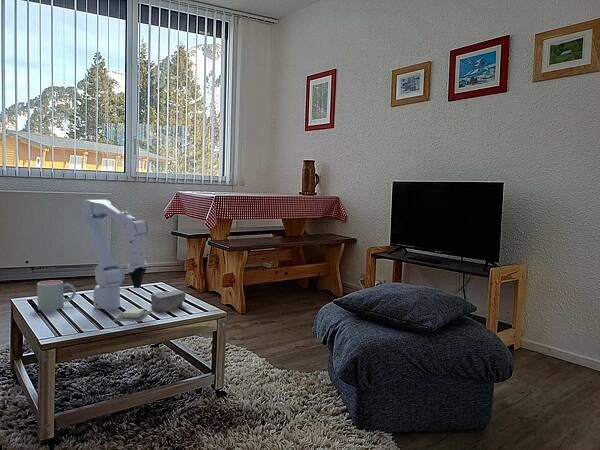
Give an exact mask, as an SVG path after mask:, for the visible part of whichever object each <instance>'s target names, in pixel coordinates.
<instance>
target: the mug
mask: <svg viewBox="0 0 600 450" xmlns="http://www.w3.org/2000/svg"><path fill="white" fill-rule="evenodd" d="M66 287H69V288H70V289H71V290H72V295H71V296H69V297H68V298H64V288H66ZM36 289H37V290H36V292H37V294H36V295H37V296H36V297H37V310H39V311H46V312H47V311H48V312H49V311H55V310H59V309H60V310H61V309H62V308H64V307H65V303H68V302H71V301H72V300H73V299H75V296H76V294H77V293H76V292H77V291H76V288H75V286H74V285H72V284H70V283H64V281H63V280H53V279H52V280H50V279H49V280H43V281H42V280H41V281H40V282H39V281H38V282H37V283H36ZM64 302H65V303H64Z"/></svg>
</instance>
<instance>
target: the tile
mask: <svg viewBox="0 0 600 450" xmlns="http://www.w3.org/2000/svg"><path fill="white" fill-rule="evenodd" d="M144 311H145V308H127V309H126V310H125V311H123V312H122V314H123V318H140V317H141V316H142V315H143V314H144ZM122 314H121V315H122Z"/></svg>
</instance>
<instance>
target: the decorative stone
mask: <svg viewBox="0 0 600 450" xmlns="http://www.w3.org/2000/svg"><path fill="white" fill-rule="evenodd" d="M150 297H151V298H150V300H151V304H150V308H151V311H152V312H156V313H159V314H160V313H166V312H171V311H173V310H177V309H179V308H180V307H181V306H183V303H184V302H185V301H186V292H185V291H184V290H179V289H178V290H177V289H176V290H175V289H173V290H171V291H170V290H169V291H168V290H167V291H160V292H154V293H153V292H152V293H151V294H150Z"/></svg>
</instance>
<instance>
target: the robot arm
mask: <svg viewBox="0 0 600 450" xmlns="http://www.w3.org/2000/svg"><path fill="white" fill-rule="evenodd" d="M80 210H81V214H82V217H83V221H84V222H85V224H86V228H87V230H88V235H89V237H90V240H91V243H92V246H93V249H94V252H95V256H96V259H97V262H98V264H97V266H96V267H95V269H94V274H95V278H94V279H95V282H96V285H95V287H94V288H93V309H105V310H106V309H107V310H108V309H109V310H110V309H111V310H117V309H118V308H120V307H121V306H123V305H124V303H121V285H122V283H123V281H125V272H124V270H123V269H122V267H121V265H120V263H119V262H117V261H115V260H114V259H113V256H112V254H111V251H110V250H111V249H110V247H109V244H108V241H107V238H106V234H105V231H104V228H103V225H102V224H103V223H104V222H105V221H106V219H107V218H108V216H109V217H110V218H111V219H113V220H115V221H114V222H115V223H116V225H117V226H119V227H121V228H122V229H123V230H125V233H126V236H127V241H128V265H127V266H126V270H127V271H126V272H127V273H128V275H129V276H130V278H131V282H132V285H133V288H134V289H140V288H141V287H142V282H143V279H144V276H145V273H146V271H147V268H146V267H148V265H149V263H147V260H146V235H147V233H148V232H149V225H148V222H146V221H145V220H144V219H141V220H138V219H137V217H134V216H133V215H131V214H130V212H129V211H120V210H119V209H118V208H116V207H115V206H114V205H113V204H112V201H110V200H108V199H106V198H105V199H85V200H83V202H82V204H81V208H80Z"/></svg>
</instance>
